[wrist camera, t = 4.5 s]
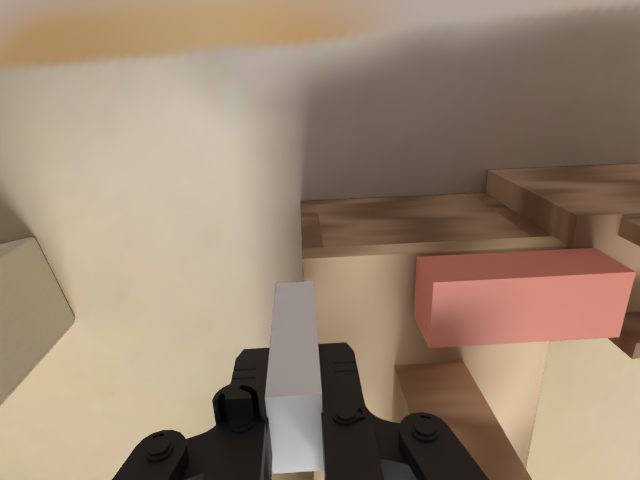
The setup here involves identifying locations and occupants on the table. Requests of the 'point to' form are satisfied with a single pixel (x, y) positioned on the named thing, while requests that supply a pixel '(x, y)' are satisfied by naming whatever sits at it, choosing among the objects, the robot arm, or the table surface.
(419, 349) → the lid
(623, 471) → the table surface
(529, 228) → the brown wooden open box
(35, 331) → the toy refrigerator
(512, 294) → the pink rectangular block
